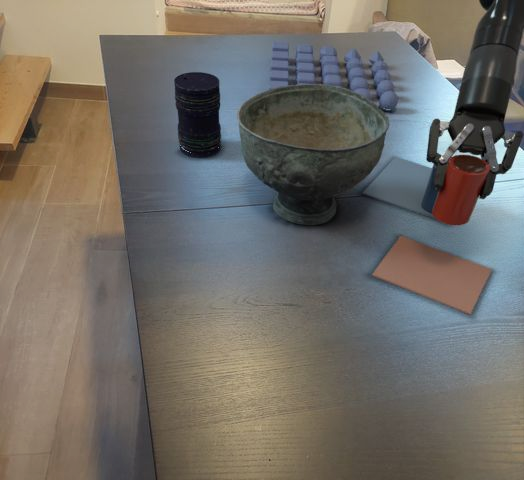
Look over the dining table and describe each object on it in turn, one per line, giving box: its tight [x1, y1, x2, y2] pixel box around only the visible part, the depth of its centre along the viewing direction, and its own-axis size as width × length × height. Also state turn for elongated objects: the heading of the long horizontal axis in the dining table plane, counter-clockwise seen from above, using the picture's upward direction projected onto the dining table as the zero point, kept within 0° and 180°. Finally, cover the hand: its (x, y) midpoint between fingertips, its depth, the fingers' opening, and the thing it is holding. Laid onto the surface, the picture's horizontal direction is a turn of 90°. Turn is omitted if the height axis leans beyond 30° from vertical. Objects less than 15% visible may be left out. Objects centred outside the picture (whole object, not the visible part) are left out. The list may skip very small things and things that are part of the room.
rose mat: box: [371, 235, 493, 316], centre depth 93 cm, size 18×14×1 cm
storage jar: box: [173, 71, 222, 159], centre depth 114 cm, size 10×10×15 cm
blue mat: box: [362, 156, 440, 222], centre depth 112 cm, size 19×19×1 cm
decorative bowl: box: [236, 83, 390, 226], centre depth 98 cm, size 26×26×20 cm
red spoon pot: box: [432, 154, 490, 227], centre depth 82 cm, size 6×6×9 cm
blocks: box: [268, 41, 399, 112], centre depth 146 cm, size 35×34×5 cm
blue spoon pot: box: [421, 159, 450, 214], centre depth 103 cm, size 6×6×9 cm
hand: (460, 193), depth 80 cm, fingers closed on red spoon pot, 6 cm apart
